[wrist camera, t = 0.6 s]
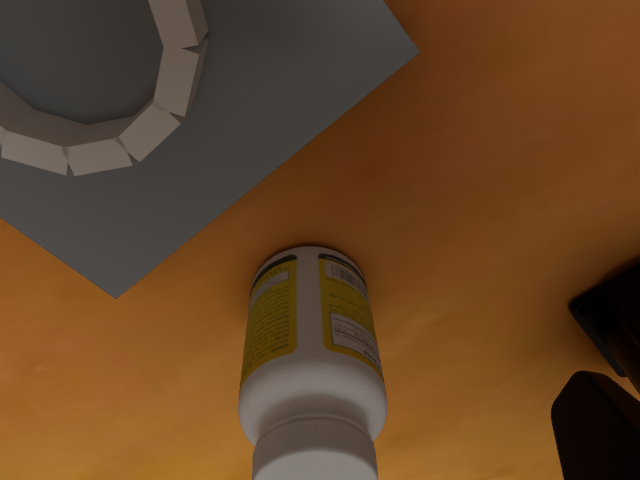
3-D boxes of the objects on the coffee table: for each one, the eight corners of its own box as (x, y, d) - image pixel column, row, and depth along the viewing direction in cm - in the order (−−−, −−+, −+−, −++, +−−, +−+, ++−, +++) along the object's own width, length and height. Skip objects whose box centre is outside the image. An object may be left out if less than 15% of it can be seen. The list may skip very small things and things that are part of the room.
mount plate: (413, 43, 18) (433, 68, 15) (123, 282, 23) (101, 331, 21) (-5, -544, 11) (-100, -684, 8) (-283, -14, 16) (-395, 2, 14)
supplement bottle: (253, 332, 26) (232, 536, 17) (248, 241, 23) (219, 435, 14) (362, 332, 26) (392, 533, 18) (371, 242, 23) (411, 433, 15)
